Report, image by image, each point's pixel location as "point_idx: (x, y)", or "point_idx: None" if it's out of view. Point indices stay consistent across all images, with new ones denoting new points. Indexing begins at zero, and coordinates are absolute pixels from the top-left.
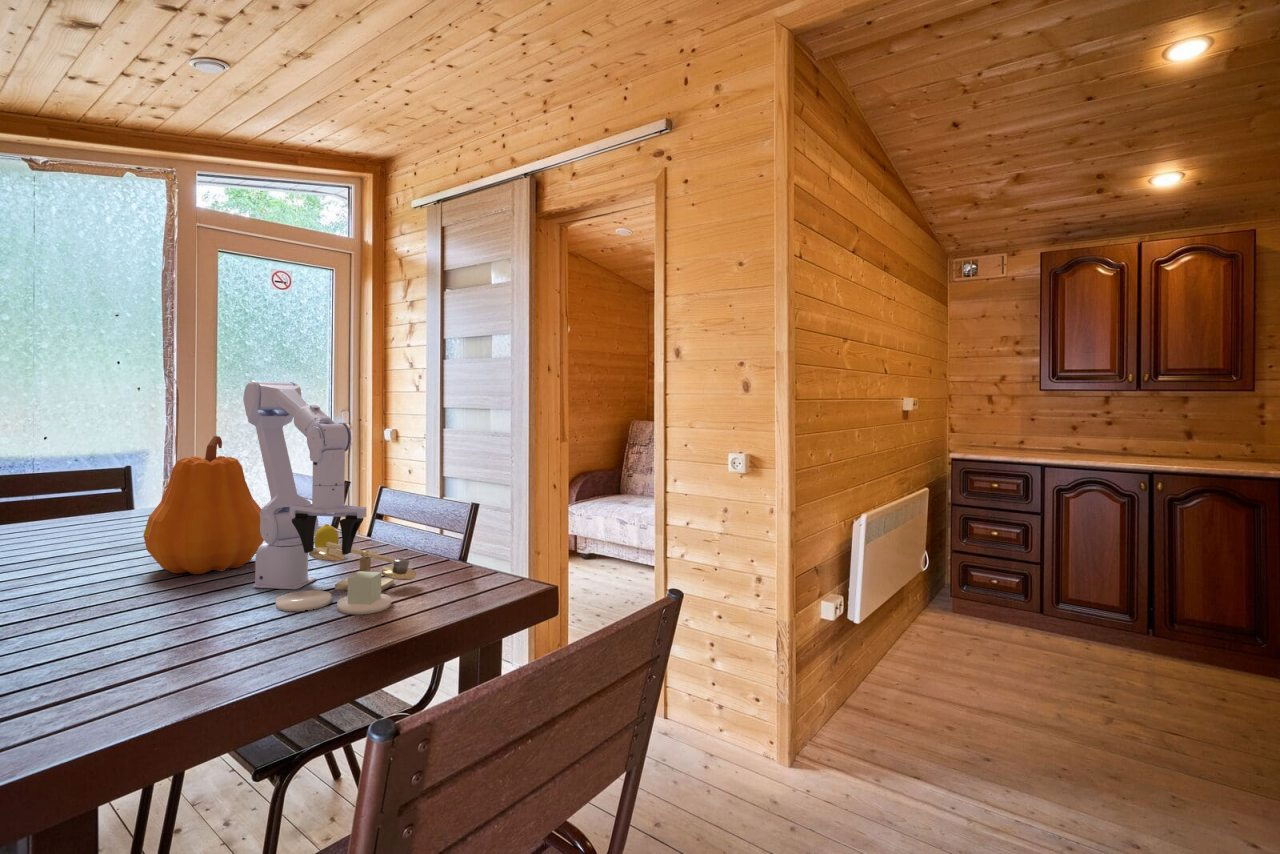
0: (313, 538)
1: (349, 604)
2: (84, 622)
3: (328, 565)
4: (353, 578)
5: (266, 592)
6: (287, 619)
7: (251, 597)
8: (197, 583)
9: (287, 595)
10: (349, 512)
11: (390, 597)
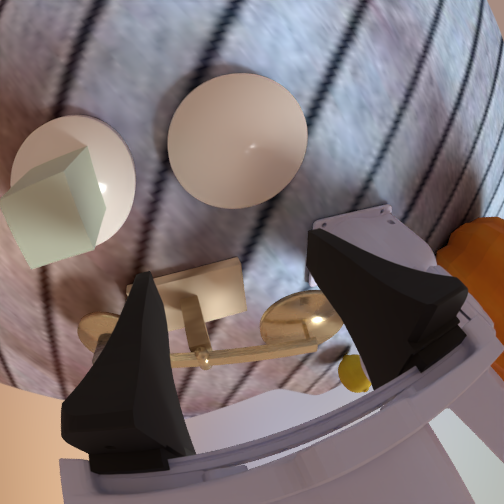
0: (331, 302)
1: (75, 140)
2: (473, 27)
3: None
4: (46, 177)
5: (359, 189)
6: (194, 21)
7: (369, 152)
8: (449, 200)
9: (293, 146)
10: (121, 494)
11: None
